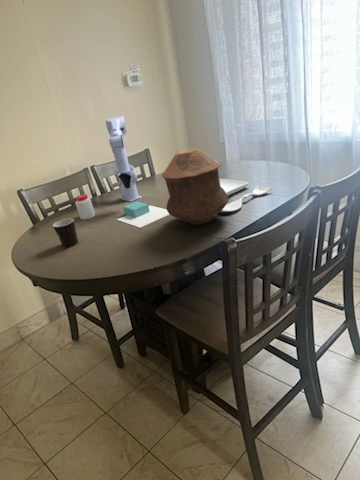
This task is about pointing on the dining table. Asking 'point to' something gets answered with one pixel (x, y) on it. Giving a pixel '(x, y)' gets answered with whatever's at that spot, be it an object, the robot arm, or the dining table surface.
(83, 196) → the pill bottle
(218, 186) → the pottery vessel
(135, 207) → the teal slab
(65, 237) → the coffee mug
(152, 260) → the dining table surface
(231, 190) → the square plate
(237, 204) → the spoon
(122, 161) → the robot arm
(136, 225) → the mat
